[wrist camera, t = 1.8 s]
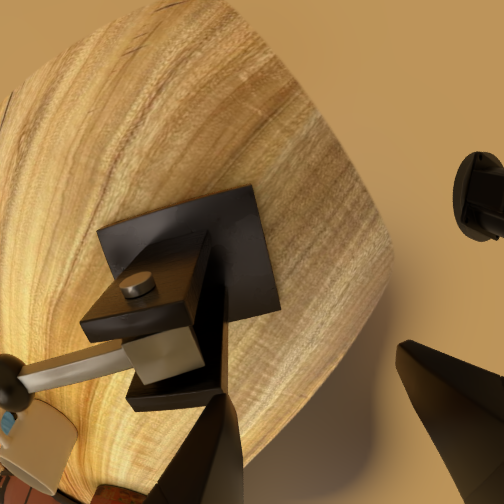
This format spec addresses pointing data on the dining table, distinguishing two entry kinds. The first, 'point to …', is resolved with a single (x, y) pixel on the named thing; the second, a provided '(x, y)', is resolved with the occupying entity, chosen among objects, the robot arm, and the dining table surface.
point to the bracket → (185, 286)
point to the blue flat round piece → (7, 422)
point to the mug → (38, 446)
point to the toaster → (25, 492)
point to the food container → (116, 496)
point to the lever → (100, 365)
